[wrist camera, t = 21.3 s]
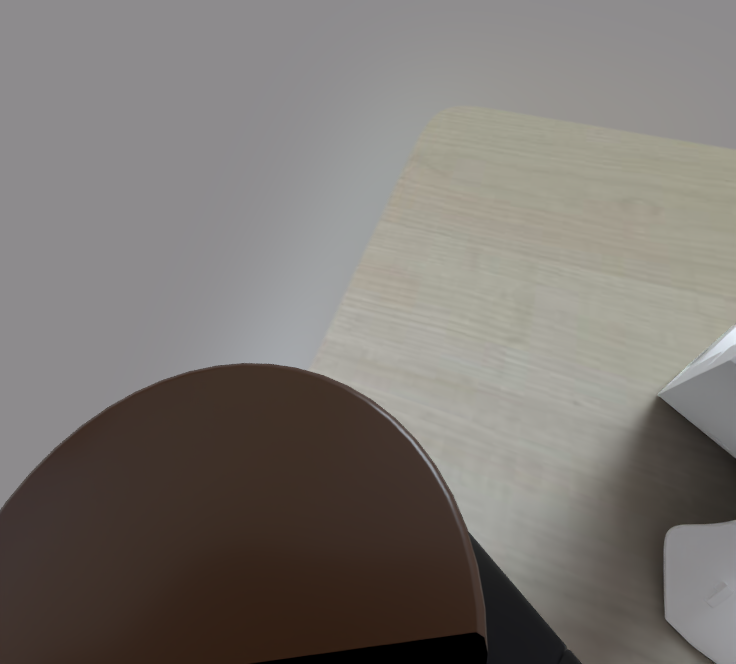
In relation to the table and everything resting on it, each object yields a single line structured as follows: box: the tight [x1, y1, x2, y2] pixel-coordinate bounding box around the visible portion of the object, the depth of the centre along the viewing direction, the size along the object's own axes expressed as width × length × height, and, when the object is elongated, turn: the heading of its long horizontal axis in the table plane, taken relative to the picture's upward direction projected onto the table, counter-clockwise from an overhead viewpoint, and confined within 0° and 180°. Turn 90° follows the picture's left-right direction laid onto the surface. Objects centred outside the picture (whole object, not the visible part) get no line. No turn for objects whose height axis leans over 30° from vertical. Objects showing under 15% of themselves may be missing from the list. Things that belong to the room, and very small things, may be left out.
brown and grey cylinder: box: [0, 363, 488, 664], centre depth 8 cm, size 4×4×13 cm
